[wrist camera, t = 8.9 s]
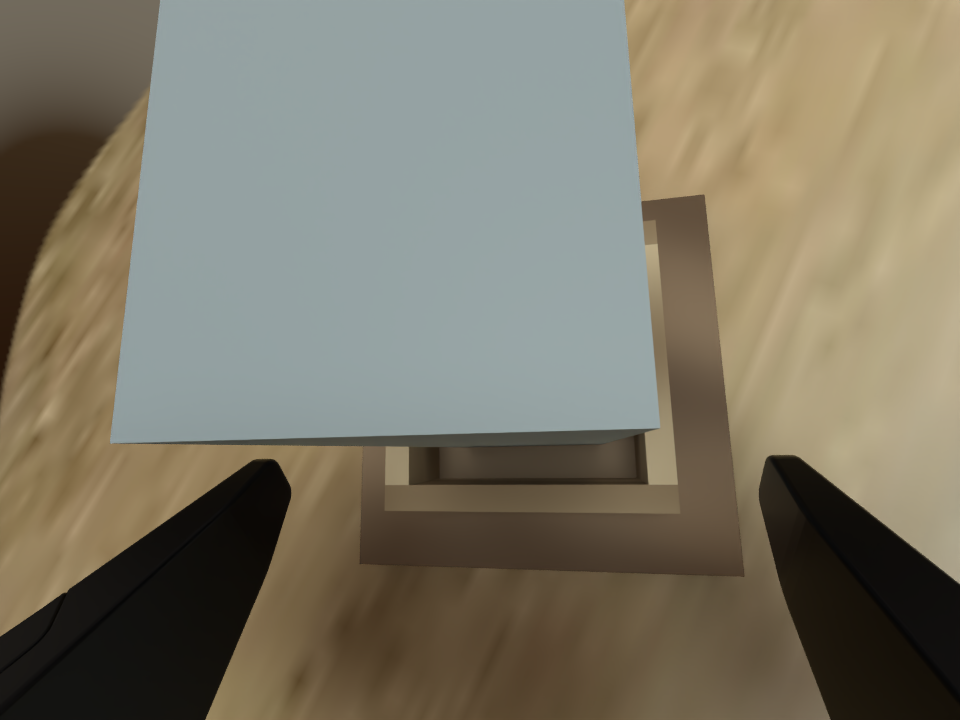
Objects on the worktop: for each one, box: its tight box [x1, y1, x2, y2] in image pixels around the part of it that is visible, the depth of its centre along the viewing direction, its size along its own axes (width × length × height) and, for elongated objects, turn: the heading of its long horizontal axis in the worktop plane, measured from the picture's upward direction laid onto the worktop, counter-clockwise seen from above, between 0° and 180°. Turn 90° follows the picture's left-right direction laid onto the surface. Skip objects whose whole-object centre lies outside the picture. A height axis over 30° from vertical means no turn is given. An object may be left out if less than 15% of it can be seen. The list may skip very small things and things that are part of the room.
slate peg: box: [110, 0, 660, 447], centre depth 10 cm, size 4×4×13 cm
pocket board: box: [360, 195, 744, 577], centre depth 16 cm, size 12×12×4 cm
